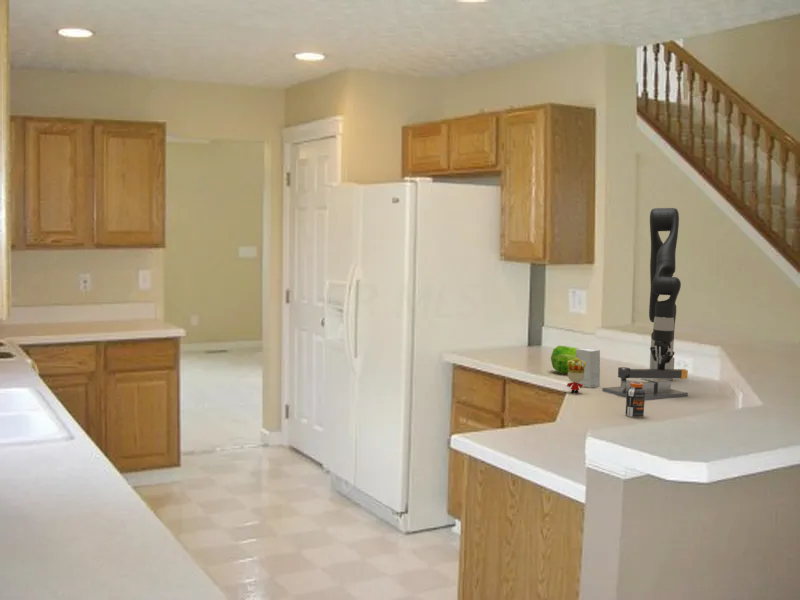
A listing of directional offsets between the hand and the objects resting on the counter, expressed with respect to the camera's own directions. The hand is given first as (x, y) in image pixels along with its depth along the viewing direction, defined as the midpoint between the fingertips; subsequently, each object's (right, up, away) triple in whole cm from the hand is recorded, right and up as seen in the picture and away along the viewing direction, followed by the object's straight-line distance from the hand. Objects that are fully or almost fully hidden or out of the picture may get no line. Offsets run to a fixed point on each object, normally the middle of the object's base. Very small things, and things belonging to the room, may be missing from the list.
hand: (660, 373), depth 341 cm
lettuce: (-25, -4, +43) cm, 50 cm away
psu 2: (-1, -7, +3) cm, 7 cm away
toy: (-33, -7, -3) cm, 34 cm away
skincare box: (-26, -6, +13) cm, 30 cm away
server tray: (-6, -8, +1) cm, 10 cm away
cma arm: (-4, -1, -4) cm, 6 cm away
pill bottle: (-21, -11, -42) cm, 48 cm away
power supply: (-9, -7, -1) cm, 11 cm away
